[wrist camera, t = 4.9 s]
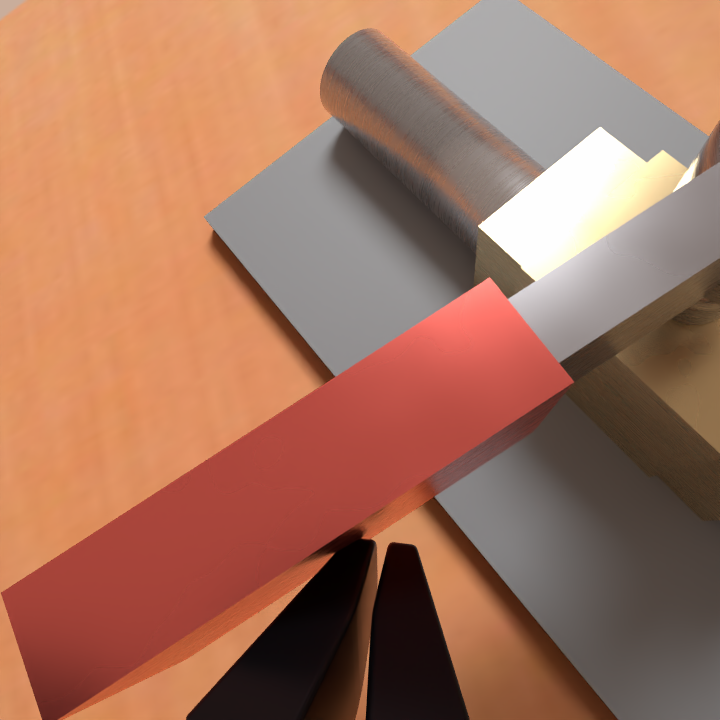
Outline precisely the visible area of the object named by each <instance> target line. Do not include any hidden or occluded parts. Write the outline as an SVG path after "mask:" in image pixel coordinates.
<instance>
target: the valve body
mask: <svg viewBox="0 0 720 720" xmlns="http://www.w3.org/2000/svg"><path fill="white" fill-rule="evenodd" d="M320 97H321V102H322V104H323V106H324V108H325V109H326V110H327V112H329V113H330V114H331V115H332V116H333V117H334V118H335V119H336V120H337V121H338V122H339V123H340V124H341V125H342V126H343V127H344V128H345V129H346V130H347V131H348V132H349V133H350V134H351V135H353V136H354V137H355V138H356V139H357V140H358V141H359V142H360V143H361V144H362V145H363V146H364V147H365V148H366V149H367V150H368V151H369V152H370V153H371V154H372V155H373V156H374V157H375V158H377V159H378V160H379V161H380V162H381V163H382V164H383V165H384V166H385V167H386V168H387V169H388V170H389V171H390V172H391V173H392V174H393V175H394V176H395V177H396V178H397V179H398V180H399V181H401V182H402V183H403V184H404V185H405V186H406V187H407V188H408V189H409V190H410V191H411V192H412V193H413V194H414V195H415V196H416V197H417V198H418V199H419V200H420V201H421V202H422V203H423V204H425V205H426V206H427V207H428V208H429V209H430V210H431V211H432V212H433V213H434V214H435V215H436V216H437V217H438V218H439V219H440V220H441V221H442V222H443V223H444V224H445V225H446V226H447V227H449V228H450V229H451V230H452V231H453V232H454V233H455V234H456V235H457V236H458V237H459V238H460V239H461V240H462V241H463V242H464V243H465V244H466V245H467V246H468V247H469V248H470V249H471V250H473V251H474V252H475V253H476V262H475V274H474V287H475V286H477V285H479V284H480V283H482V282H483V281H485V280H486V279H488V278H489V277H490V278H491V279H492V281H493V282H494V283H495V284H496V286H497V287H498V288H499V289H500V291H501V292H502V293H503V294H504V295H505V297H506V298H507V299H509V298H510V297H512V296H513V295H515V294H516V293H518V292H520V291H521V290H523V289H524V288H526V287H527V286H529V285H530V284H532V283H533V282H535V281H537V280H538V279H540V278H541V277H543V276H544V275H546V274H547V273H549V272H550V271H552V270H553V269H555V268H557V267H558V266H560V265H561V264H563V263H564V262H566V261H567V260H569V259H570V258H572V257H574V256H575V255H577V254H578V253H580V252H581V251H583V250H584V249H586V248H587V247H589V246H591V245H592V244H594V243H595V242H597V241H598V240H600V239H601V238H603V237H604V236H606V235H608V234H609V233H611V232H612V231H614V230H615V229H617V228H618V227H620V226H621V225H623V224H625V223H626V222H628V221H629V220H631V219H632V218H634V217H635V216H637V215H638V214H640V213H642V212H643V211H645V210H646V209H648V208H649V207H651V206H652V205H654V204H655V203H657V202H659V201H660V200H662V199H663V198H665V197H666V196H668V195H669V194H671V193H672V192H673V191H674V190H675V188H676V187H677V185H678V184H679V182H680V180H681V179H682V177H683V176H684V174H685V173H686V171H687V170H688V168H686V167H685V166H684V165H682V164H681V163H680V162H678V161H677V160H676V159H674V158H673V157H672V156H670V155H669V154H667V153H666V152H665V151H663V150H662V151H661V152H660V153H658V154H657V155H656V156H655V157H654V158H652V159H651V160H650V161H649V162H647V163H646V162H645V161H644V160H642V159H641V158H640V157H638V156H637V155H636V154H634V153H633V152H632V151H631V150H629V149H628V148H627V147H625V146H624V145H623V144H621V143H620V142H619V141H618V140H616V139H615V138H614V137H612V136H611V135H610V134H608V133H607V132H606V131H604V130H603V129H602V128H601V127H600V128H598V129H597V130H596V131H595V132H593V133H592V134H591V135H590V136H589V137H587V138H586V139H585V140H584V141H582V142H581V143H580V144H579V145H578V146H576V147H575V148H574V149H573V150H571V151H570V152H569V153H568V154H566V155H565V156H564V157H563V158H562V159H560V160H559V161H558V162H557V163H555V164H554V165H553V166H552V167H550V168H549V169H548V170H546V169H545V168H544V167H543V166H541V165H540V164H539V163H538V162H537V161H535V160H534V159H533V158H532V157H531V156H529V155H528V154H527V153H526V152H525V151H523V150H522V149H521V148H520V147H519V146H517V145H516V144H515V143H514V142H513V141H511V140H510V139H509V138H508V137H507V136H505V135H504V134H503V133H502V132H501V131H499V130H498V129H497V128H496V127H495V126H493V125H492V124H491V123H490V122H489V121H487V120H486V119H485V118H484V117H483V116H481V115H480V114H479V113H478V112H477V111H475V110H474V109H473V108H472V107H471V106H470V105H468V104H467V103H466V102H465V101H464V100H462V99H461V98H460V97H459V96H458V95H456V94H455V93H454V92H453V91H452V90H450V89H449V88H448V87H447V86H446V85H444V84H443V83H442V82H441V81H440V80H438V79H437V78H436V77H435V76H434V75H432V74H431V73H430V72H429V71H428V70H426V69H425V68H424V67H423V66H422V65H420V64H419V63H418V62H417V61H416V60H414V59H413V58H412V57H411V56H410V55H408V54H407V53H406V52H405V51H404V50H402V49H401V48H400V47H399V46H398V45H396V44H395V43H394V42H393V41H392V40H390V39H389V38H388V37H387V36H386V35H384V34H383V33H382V32H381V31H379V30H376V29H364V30H360V31H358V32H356V33H354V34H352V35H351V36H349V37H348V38H347V39H346V40H344V41H343V42H342V43H341V44H340V45H339V46H338V48H337V49H336V50H335V51H334V53H333V54H332V56H331V57H330V59H329V61H328V63H327V65H326V67H325V69H324V72H323V75H322V79H321V85H320ZM474 287H473V288H474ZM565 394H566V395H567V396H568V397H569V398H570V399H571V400H572V401H573V402H574V403H575V404H576V405H577V406H578V407H579V408H580V409H581V410H582V411H583V412H584V413H585V414H586V415H587V416H588V417H589V418H590V419H591V420H592V421H593V422H594V423H595V424H596V425H597V426H598V427H599V428H600V429H601V430H602V431H603V432H604V433H605V434H606V435H607V436H608V437H609V438H610V439H611V440H612V441H613V442H614V443H615V444H616V445H617V446H618V447H619V448H620V449H621V450H622V451H623V452H624V453H625V454H626V455H627V456H628V457H629V458H630V459H631V460H632V461H633V462H634V463H635V464H636V465H637V466H638V467H639V468H640V469H641V470H642V471H643V472H644V473H645V474H646V475H647V476H648V477H653V476H656V475H657V476H658V477H659V478H660V479H661V480H662V481H663V482H664V483H665V484H666V485H667V486H668V487H669V488H670V489H671V490H672V491H673V492H674V493H675V494H676V495H677V496H678V497H679V498H680V499H681V500H682V501H683V502H684V503H685V504H686V505H687V506H688V507H689V508H690V509H691V510H692V511H693V512H694V513H695V514H696V515H697V516H698V517H699V518H700V519H701V520H702V521H710V520H720V305H719V304H716V303H714V302H711V301H709V300H707V299H705V298H702V299H701V300H699V301H698V302H696V303H695V304H693V305H692V306H690V307H689V308H687V309H686V310H684V311H683V312H681V313H680V314H678V315H677V316H675V317H673V318H672V319H670V320H669V321H667V322H666V323H664V324H663V325H661V326H660V327H658V328H657V329H655V330H654V331H652V332H651V333H649V334H647V335H646V336H644V337H643V338H641V339H640V340H638V341H637V342H635V343H634V344H632V345H631V346H629V347H628V348H626V349H625V350H623V351H621V352H620V353H618V354H617V355H615V356H614V357H612V358H611V359H609V360H608V361H606V362H605V363H603V364H602V365H600V366H599V367H597V368H595V369H594V370H592V371H591V372H589V373H588V374H586V375H585V376H583V377H582V378H580V379H579V380H577V381H576V382H574V383H573V384H572V385H571V387H570V388H569V389H568V390H567V392H566V393H565Z"/></svg>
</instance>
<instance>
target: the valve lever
mask: <svg viewBox="0 0 720 720" xmlns="http://www.w3.org/2000/svg"><path fill="white" fill-rule="evenodd" d="M702 298H705V299H707V300H709V301H711V302H714V303H716V304H719V305H720V121H719V122H718V124H717V125H716V127H715V128H714V130H713V131H712V133H711V134H710V136H709V137H708V139H707V141H706V142H705V144H704V145H703V147H702V148H701V150H700V151H699V153H698V154H697V156H696V157H695V159H694V160H693V162H692V164H691V165H690V167H689V168H688V170H687V171H686V173H685V174H684V176H683V177H682V179H681V180H680V182H679V184H678V185H677V187H676V188H675V190H674V191H673V192H672V193H671V194H669V195H668V196H666V197H665V198H663V199H662V200H660V201H659V202H657V203H655V204H654V205H652V206H651V207H649V208H648V209H646V210H645V211H643V212H642V213H640V214H638V215H637V216H635V217H634V218H632V219H631V220H629V221H628V222H626V223H625V224H623V225H621V226H620V227H618V228H617V229H615V230H614V231H612V232H611V233H609V234H608V235H606V236H604V237H603V238H601V239H600V240H598V241H597V242H595V243H594V244H592V245H591V246H589V247H587V248H586V249H584V250H583V251H581V252H580V253H578V254H577V255H575V256H574V257H572V258H570V259H569V260H567V261H566V262H564V263H563V264H561V265H560V266H558V267H557V268H555V269H553V270H552V271H550V272H549V273H547V274H546V275H544V276H543V277H541V278H540V279H538V280H537V281H535V282H533V283H532V284H530V285H529V286H527V287H526V288H524V289H523V290H521V291H520V292H518V293H516V294H515V295H513V296H512V297H510V298H509V299H507V298H506V297H505V295H504V294H503V293H502V292H501V291H500V289H499V288H498V287H497V286H496V284H495V283H494V282H493V281H492V279H491V278H490V277H489V278H488V279H486V280H485V281H483V282H482V283H480V284H479V285H477V286H475V287H474V288H472V289H471V290H469V291H468V292H466V293H465V294H463V295H462V296H460V297H458V298H457V299H455V300H454V301H452V302H451V303H449V304H448V305H446V306H444V307H443V308H441V309H440V310H438V311H437V312H435V313H434V314H432V315H431V316H429V317H427V318H426V319H424V320H423V321H421V322H420V323H418V324H417V325H415V326H414V327H412V328H410V329H409V330H407V331H406V332H404V333H403V334H401V335H400V336H398V337H396V338H395V339H393V340H392V341H390V342H389V343H387V344H386V345H384V346H383V347H381V348H379V349H378V350H376V351H375V352H373V353H372V354H370V355H369V356H367V357H366V358H364V359H362V360H361V361H359V362H358V363H356V364H355V365H353V366H352V367H350V368H348V369H347V370H345V371H344V372H342V373H341V374H339V375H338V376H336V377H335V378H333V379H331V380H330V381H328V382H327V383H325V384H324V385H322V386H321V387H319V388H318V389H316V390H314V391H313V392H311V393H310V394H308V395H307V396H305V397H304V398H302V399H300V400H299V401H297V402H296V403H294V404H293V405H291V406H290V407H288V408H287V409H285V410H283V411H282V412H280V413H279V414H277V415H276V416H274V417H273V418H271V419H269V420H268V421H266V422H265V423H263V424H262V425H260V426H259V427H257V428H256V429H254V430H252V431H251V432H249V433H248V434H246V435H245V436H243V437H242V438H240V439H239V440H237V441H235V442H234V443H232V444H231V445H229V446H228V447H226V448H225V449H223V450H221V451H220V452H218V453H217V454H215V455H214V456H212V457H211V458H209V459H208V460H206V461H204V462H203V463H201V464H200V465H198V466H197V467H195V468H194V469H192V470H191V471H189V472H187V473H186V474H184V475H183V476H181V477H180V478H178V479H177V480H175V481H173V482H172V483H170V484H169V485H167V486H166V487H164V488H163V489H161V490H160V491H158V492H156V493H155V494H153V495H152V496H150V497H149V498H147V499H146V500H144V501H143V502H141V503H139V504H138V505H136V506H135V507H133V508H132V509H130V510H129V511H127V512H125V513H124V514H122V515H121V516H119V517H118V518H116V519H115V520H113V521H112V522H110V523H108V524H107V525H105V526H104V527H102V528H101V529H99V530H98V531H96V532H95V533H93V534H91V535H90V536H88V537H87V538H85V539H84V540H82V541H81V542H79V543H77V544H76V545H74V546H73V547H71V548H70V549H68V550H67V551H65V552H64V553H62V554H60V555H59V556H57V557H56V558H54V559H53V560H51V561H50V562H48V563H46V564H45V565H43V566H42V567H40V568H39V569H37V570H36V571H34V572H33V573H31V574H29V575H28V576H26V577H25V578H23V579H22V580H20V581H19V582H17V583H16V584H14V585H12V586H11V587H9V588H8V589H6V590H5V591H3V592H2V593H1V594H2V597H3V600H4V604H5V607H6V610H7V613H8V616H9V619H10V622H11V625H12V628H13V631H14V634H15V637H16V640H17V643H18V646H19V650H20V653H21V656H22V659H23V662H24V665H25V668H26V671H27V674H28V677H29V680H30V683H31V686H32V689H33V692H34V696H35V699H36V702H37V705H38V708H39V711H40V714H41V717H42V720H63V719H65V718H67V717H69V716H71V715H73V714H75V713H77V712H79V711H81V710H83V709H85V708H87V707H89V706H91V705H94V704H96V703H98V702H100V701H102V700H104V699H106V698H108V697H110V696H112V695H114V694H116V693H118V692H120V691H122V690H124V689H126V688H128V687H130V686H133V685H135V684H137V683H139V682H141V681H143V680H145V679H147V678H149V677H151V676H153V675H155V674H157V673H159V672H161V671H163V670H165V669H167V668H169V667H171V666H174V665H176V664H178V663H180V662H182V661H184V660H186V659H188V658H189V657H191V656H192V655H194V654H195V653H197V652H198V651H200V650H201V649H203V648H204V647H206V646H207V645H209V644H211V643H212V642H214V641H215V640H217V639H218V638H220V637H221V636H223V635H224V634H226V633H227V632H229V631H230V630H232V629H233V628H235V627H236V626H238V625H239V624H241V623H243V622H244V621H246V620H247V619H249V618H250V617H252V616H253V615H255V614H256V613H258V612H259V611H261V610H262V609H264V608H265V607H267V606H268V605H270V604H272V603H273V602H275V601H276V600H278V599H279V598H281V597H282V596H284V595H285V594H287V593H288V592H290V591H291V590H293V589H294V588H296V587H297V586H299V585H301V584H302V583H304V582H305V581H307V580H308V579H310V578H311V577H313V576H314V575H316V573H317V572H318V571H319V570H320V569H321V568H322V567H323V566H324V565H325V564H326V562H327V561H328V560H329V559H330V558H331V557H332V556H333V555H334V554H335V553H336V552H337V551H339V550H340V549H342V548H344V547H346V546H347V545H349V544H351V543H353V542H354V541H356V540H358V539H360V538H363V539H371V538H372V537H374V536H375V535H377V534H378V533H380V532H381V531H383V530H384V529H386V528H388V527H389V526H391V525H392V524H394V523H395V522H397V521H398V520H400V519H401V518H403V517H404V516H406V515H407V514H409V513H410V512H412V511H413V510H415V509H417V508H418V507H420V506H421V505H423V504H424V503H426V502H427V501H429V500H430V499H432V498H433V497H435V496H436V495H438V494H439V493H441V492H442V491H444V490H446V489H447V488H449V487H450V486H452V485H453V484H455V483H456V482H458V481H459V480H461V479H462V478H464V477H465V476H467V475H468V474H470V473H471V472H473V471H475V470H476V469H478V468H479V467H481V466H482V465H484V464H485V463H487V462H488V461H490V460H491V459H493V458H494V457H496V456H497V455H499V454H500V453H502V452H504V451H505V450H507V449H508V448H510V447H511V446H513V445H514V444H516V443H517V442H519V441H520V440H522V439H523V438H525V437H526V436H528V435H529V434H531V433H533V432H534V430H535V429H536V428H537V427H538V426H539V424H540V423H541V422H542V421H543V420H544V418H545V417H546V416H547V415H548V413H549V412H550V411H551V410H552V409H553V407H554V406H555V405H556V404H557V402H558V401H559V400H560V399H561V398H562V396H563V395H564V394H565V393H566V392H567V390H568V389H569V388H570V387H571V385H572V384H573V383H574V382H576V381H577V380H579V379H580V378H582V377H583V376H585V375H586V374H588V373H589V372H591V371H592V370H594V369H595V368H597V367H599V366H600V365H602V364H603V363H605V362H606V361H608V360H609V359H611V358H612V357H614V356H615V355H617V354H618V353H620V352H621V351H623V350H625V349H626V348H628V347H629V346H631V345H632V344H634V343H635V342H637V341H638V340H640V339H641V338H643V337H644V336H646V335H647V334H649V333H651V332H652V331H654V330H655V329H657V328H658V327H660V326H661V325H663V324H664V323H666V322H667V321H669V320H670V319H672V318H673V317H675V316H677V315H678V314H680V313H681V312H683V311H684V310H686V309H687V308H689V307H690V306H692V305H693V304H695V303H696V302H698V301H699V300H701V299H702Z"/></svg>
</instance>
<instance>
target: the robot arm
mask: <svg viewBox="0 0 720 720" xmlns="http://www.w3.org/2000/svg"><path fill="white" fill-rule="evenodd" d="M370 634H371V635H370ZM369 640H370V653H369V671H368V688H367V706H366V720H470V719H469V716H468V713H467V710H466V706H465V703H464V700H463V697H462V693H461V690H460V687H459V684H458V680H457V677H456V674H455V670H454V667H453V664H452V661H451V657H450V654H449V651H448V648H447V644H446V641H445V638H444V635H443V631H442V628H441V625H440V622H439V618H438V615H437V612H436V609H435V605H434V602H433V599H432V595H431V592H430V589H429V586H428V582H427V579H426V576H425V573H424V569H423V566H422V563H421V560H420V556H419V553H418V550H417V548H416V546H414V545H412V544H404V543H396V542H392V543H390V544H389V545H388V548H387V552H386V556H385V560H384V564H383V568H382V573H381V577H380V581H379V585H378V589H377V545H376V542H375V541H373V540H371V539H363V538H360V539H358V540H356V541H354V542H353V543H351V544H349V545H347V546H346V547H344V548H342V549H340V550H339V551H337V552H336V553H335V554H334V555H333V556H332V557H331V558H330V559H329V560H328V561H327V562H326V564H325V565H324V566H323V567H322V568H321V569H320V570H319V571H318V572H317V573H316V575H315V576H314V577H313V578H312V579H311V580H310V581H309V582H308V583H307V584H306V586H305V587H304V588H303V589H302V590H301V591H300V592H299V593H298V594H297V595H296V597H295V598H294V599H293V600H292V601H291V602H290V603H289V604H288V605H287V606H286V607H285V609H284V610H283V611H282V612H281V613H280V614H279V615H278V616H277V617H276V618H275V620H274V621H273V622H272V623H271V624H270V625H269V626H268V627H267V628H266V629H265V631H264V632H263V633H262V634H261V635H260V636H259V637H258V638H257V639H256V640H255V642H254V643H253V644H252V645H251V646H250V647H249V648H248V649H247V650H246V651H245V653H244V654H243V655H242V656H241V657H240V658H239V659H238V660H237V661H236V662H235V664H234V665H233V666H232V667H231V668H230V669H229V670H228V671H227V672H226V673H225V675H224V676H223V677H222V678H221V679H220V680H219V681H218V682H217V683H216V684H215V686H214V687H213V688H212V689H211V690H210V691H209V692H208V693H207V694H206V695H205V696H204V698H203V699H202V700H201V701H200V702H199V703H198V704H197V705H196V706H195V707H194V709H193V710H192V711H191V712H190V713H189V714H188V715H187V717H186V720H355V718H356V714H357V710H358V705H359V701H360V697H361V692H362V686H363V680H364V674H365V667H366V661H367V654H368V647H369Z"/></svg>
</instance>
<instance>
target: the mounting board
mask: <svg viewBox="0 0 720 720" xmlns="http://www.w3.org/2000/svg"><path fill="white" fill-rule="evenodd" d="M411 57H412V58H413V59H414V60H416V61H417V62H418V63H419V64H420V65H422V66H423V67H424V68H425V69H426V70H428V71H429V72H430V73H431V74H432V75H434V76H435V77H436V78H437V79H438V80H440V81H441V82H442V83H443V84H444V85H446V86H447V87H448V88H449V89H450V90H452V91H453V92H454V93H455V94H456V95H458V96H459V97H460V98H461V99H462V100H464V101H465V102H466V103H467V104H468V105H470V106H471V107H472V108H473V109H474V110H475V111H477V112H478V113H479V114H480V115H481V116H483V117H484V118H485V119H486V120H487V121H489V122H490V123H491V124H492V125H493V126H495V127H496V128H497V129H498V130H499V131H501V132H502V133H503V134H504V135H505V136H507V137H508V138H509V139H510V140H511V141H513V142H514V143H515V144H516V145H517V146H519V147H520V148H521V149H522V150H523V151H525V152H526V153H527V154H528V155H529V156H531V157H532V158H533V159H534V160H535V161H537V162H538V163H539V164H540V165H541V166H543V167H544V168H545V169H546V170H548V169H549V168H550V167H552V166H553V165H554V164H555V163H557V162H558V161H559V160H560V159H562V158H563V157H564V156H565V155H566V154H568V153H569V152H570V151H571V150H573V149H574V148H575V147H576V146H578V145H579V144H580V143H581V142H582V141H584V140H585V139H586V138H587V137H589V136H590V135H591V134H592V133H593V132H595V131H596V130H597V129H598V128H600V127H601V128H602V129H603V130H604V131H606V132H607V133H608V134H610V135H611V136H612V137H614V138H615V139H616V140H618V141H619V142H620V143H621V144H623V145H624V146H625V147H627V148H628V149H629V150H631V151H632V152H633V153H634V154H636V155H637V156H638V157H640V158H641V159H642V160H644V161H645V162H646V163H647V162H649V161H650V160H651V159H652V158H654V157H655V156H656V155H657V154H658V153H660V152H661V151H662V150H663V151H665V152H666V153H667V154H669V155H670V156H672V157H673V158H674V159H676V160H677V161H678V162H680V163H681V164H682V165H684V166H685V167H686V168H689V167H690V165H691V164H692V162H693V160H694V159H695V157H696V156H697V154H698V153H699V151H700V150H701V148H702V147H703V145H704V144H705V142H706V141H707V139H708V137H709V136H707V135H706V134H705V133H703V132H702V131H700V130H699V129H698V128H696V127H695V126H693V125H692V124H691V123H689V122H688V121H686V120H685V119H684V118H682V117H681V116H679V115H678V114H677V113H675V112H674V111H672V110H671V109H670V108H668V107H667V106H665V105H664V104H663V103H661V102H660V101H658V100H657V99H656V98H654V97H653V96H651V95H650V94H649V93H647V92H646V91H644V90H643V89H642V88H640V87H639V86H637V85H636V84H635V83H633V82H632V81H630V80H629V79H628V78H626V77H625V76H623V75H622V74H620V73H619V72H618V71H616V70H615V69H613V68H612V67H611V66H609V65H608V64H606V63H605V62H604V61H602V60H601V59H599V58H598V57H597V56H595V55H594V54H592V53H591V52H590V51H588V50H587V49H585V48H584V47H583V46H581V45H580V44H578V43H577V42H576V41H574V40H573V39H571V38H570V37H569V36H567V35H566V34H564V33H563V32H562V31H560V30H559V29H557V28H556V27H555V26H553V25H552V24H550V23H549V22H548V21H546V20H545V19H543V18H542V17H541V16H539V15H538V14H536V13H535V12H534V11H532V10H531V9H529V8H528V7H527V6H525V5H524V4H522V3H521V2H520V1H518V0H481V1H480V2H479V3H477V4H476V5H475V6H473V7H472V8H471V9H470V10H468V11H467V12H466V13H464V14H463V15H462V16H461V17H459V18H458V19H457V20H455V21H454V22H453V23H452V24H450V25H449V26H448V27H446V28H445V29H444V30H443V31H441V32H440V33H439V34H438V35H436V36H435V37H434V38H432V39H431V40H430V41H429V42H427V43H426V44H425V45H423V46H422V47H421V48H420V49H418V50H417V51H416V52H414V53H413V54H412V55H411ZM204 218H205V219H206V220H207V222H208V223H209V224H210V225H211V227H212V228H213V229H214V230H215V232H216V233H217V234H218V235H219V236H220V238H221V239H222V240H223V241H224V243H225V244H226V245H227V246H228V247H229V249H230V250H231V251H232V252H233V253H234V255H235V256H236V257H237V258H238V260H239V261H240V262H241V263H242V264H243V266H244V267H245V268H246V269H247V270H248V272H249V273H250V274H251V275H252V276H253V278H254V279H255V280H256V281H257V283H258V284H259V285H260V286H261V287H262V289H263V290H264V291H265V292H266V293H267V295H268V296H269V297H270V298H271V300H272V301H273V302H274V303H275V304H276V306H277V307H278V308H279V309H280V310H281V312H282V313H283V314H284V315H285V316H286V318H287V319H288V320H289V321H290V323H291V324H292V325H293V326H294V327H295V329H296V330H297V331H298V332H299V333H300V335H301V336H302V337H303V338H304V340H305V341H306V342H307V343H308V344H309V346H310V347H311V348H312V349H313V350H314V352H315V353H316V354H317V355H318V356H319V358H320V359H321V360H322V361H323V363H324V364H325V365H326V366H327V367H328V369H329V370H330V371H331V372H332V373H333V375H334V376H335V377H336V376H338V375H339V374H341V373H342V372H344V371H345V370H347V369H348V368H350V367H352V366H353V365H355V364H356V363H358V362H359V361H361V360H362V359H364V358H366V357H367V356H369V355H370V354H372V353H373V352H375V351H376V350H378V349H379V348H381V347H383V346H384V345H386V344H387V343H389V342H390V341H392V340H393V339H395V338H396V337H398V336H400V335H401V334H403V333H404V332H406V331H407V330H409V329H410V328H412V327H414V326H415V325H417V324H418V323H420V322H421V321H423V320H424V319H426V318H427V317H429V316H431V315H432V314H434V313H435V312H437V311H438V310H440V309H441V308H443V307H444V306H446V305H448V304H449V303H451V302H452V301H454V300H455V299H457V298H458V297H460V296H462V295H463V294H465V293H466V292H468V291H469V290H471V289H472V288H473V287H474V274H475V262H476V253H475V252H474V251H473V250H471V249H470V248H469V247H468V246H467V245H466V244H465V243H464V242H463V241H462V240H461V239H460V238H459V237H458V236H457V235H456V234H455V233H454V232H453V231H452V230H451V229H450V228H449V227H447V226H446V225H445V224H444V223H443V222H442V221H441V220H440V219H439V218H438V217H437V216H436V215H435V214H434V213H433V212H432V211H431V210H430V209H429V208H428V207H427V206H426V205H425V204H423V203H422V202H421V201H420V200H419V199H418V198H417V197H416V196H415V195H414V194H413V193H412V192H411V191H410V190H409V189H408V188H407V187H406V186H405V185H404V184H403V183H402V182H401V181H399V180H398V179H397V178H396V177H395V176H394V175H393V174H392V173H391V172H390V171H389V170H388V169H387V168H386V167H385V166H384V165H383V164H382V163H381V162H380V161H379V160H378V159H377V158H375V157H374V156H373V155H372V154H371V153H370V152H369V151H368V150H367V149H366V148H365V147H364V146H363V145H362V144H361V143H360V142H359V141H358V140H357V139H356V138H355V137H354V136H353V135H351V134H350V133H349V132H348V131H347V130H346V129H345V128H344V127H343V126H342V125H341V124H340V123H339V122H338V121H337V120H336V119H335V118H334V117H333V116H332V117H331V118H330V119H329V120H327V121H326V122H325V123H323V124H322V125H321V126H320V127H318V128H317V129H316V130H314V131H313V132H312V133H311V134H309V135H308V136H307V137H305V138H304V139H303V140H302V141H300V142H299V143H298V144H297V145H295V146H294V147H293V148H291V149H290V150H289V151H288V152H286V153H285V154H284V155H282V156H281V157H280V158H279V159H277V160H276V161H275V162H273V163H272V164H271V165H270V166H268V167H267V168H266V169H264V170H263V171H262V172H261V173H259V174H258V175H257V176H255V177H254V178H253V179H252V180H250V181H249V182H248V183H247V184H245V185H244V186H243V187H241V188H240V189H239V190H238V191H236V192H235V193H234V194H232V195H231V196H230V197H229V198H227V199H226V200H225V201H223V202H222V203H221V204H220V205H218V206H217V207H216V208H214V209H213V210H212V211H211V212H209V213H208V214H207V215H206V216H204ZM435 498H436V500H437V501H438V502H439V503H440V504H441V506H442V507H443V508H444V509H445V510H446V512H447V513H448V514H449V515H450V517H451V518H452V519H453V520H454V521H455V523H456V524H457V525H458V526H459V527H460V529H461V530H462V531H463V532H464V534H465V535H466V536H467V537H468V538H469V540H470V541H471V542H472V543H473V544H474V546H475V547H476V548H477V549H478V550H479V552H480V553H481V554H482V555H483V557H484V558H485V559H486V560H487V561H488V563H489V564H490V565H491V566H492V567H493V569H494V570H495V571H496V572H497V574H498V575H499V576H500V577H501V578H502V580H503V581H504V582H505V583H506V584H507V586H508V587H509V588H510V589H511V591H512V592H513V593H514V594H515V595H516V597H517V598H518V599H519V600H520V601H521V603H522V604H523V605H524V606H525V607H526V609H527V610H528V611H529V612H530V614H531V615H532V616H533V617H534V618H535V620H536V621H537V622H538V623H539V624H540V626H541V627H542V628H543V629H544V631H545V632H546V633H547V634H548V635H549V637H550V638H551V639H552V640H553V641H554V643H555V644H556V645H557V646H558V647H559V649H560V650H561V651H562V652H563V654H564V655H565V656H566V657H567V658H568V660H569V661H570V662H571V663H572V664H573V666H574V667H575V668H576V669H577V671H578V672H579V673H580V674H581V675H582V677H583V678H584V679H585V680H586V681H587V683H588V684H589V685H590V686H591V687H592V689H593V690H594V691H595V692H596V694H597V695H598V696H599V697H600V698H601V700H602V701H603V702H604V703H605V704H606V706H607V707H608V708H609V709H610V711H611V712H612V713H613V714H614V715H615V717H616V718H617V719H618V720H720V520H710V521H702V520H701V519H700V518H699V517H698V516H697V515H696V514H695V513H694V512H693V511H692V510H691V509H690V508H689V507H688V506H687V505H686V504H685V503H684V502H683V501H682V500H681V499H680V498H679V497H678V496H677V495H676V494H675V493H674V492H673V491H672V490H671V489H670V488H669V487H668V486H667V485H666V484H665V483H664V482H663V481H662V480H661V479H660V478H659V477H658V476H657V475H656V476H653V477H648V476H647V475H646V474H645V473H644V472H643V471H642V470H641V469H640V468H639V467H638V466H637V465H636V464H635V463H634V462H633V461H632V460H631V459H630V458H629V457H628V456H627V455H626V454H625V453H624V452H623V451H622V450H621V449H620V448H619V447H618V446H617V445H616V444H615V443H614V442H613V441H612V440H611V439H610V438H609V437H608V436H607V435H606V434H605V433H604V432H603V431H602V430H601V429H600V428H599V427H598V426H597V425H596V424H595V423H594V422H593V421H592V420H591V419H590V418H589V417H588V416H587V415H586V414H585V413H584V412H583V411H582V410H581V409H580V408H579V407H578V406H577V405H576V404H575V403H574V402H573V401H572V400H571V399H570V398H569V397H568V396H567V395H566V394H564V395H563V396H562V398H561V399H560V400H559V401H558V402H557V404H556V405H555V406H554V407H553V409H552V410H551V411H550V412H549V413H548V415H547V416H546V417H545V418H544V420H543V421H542V422H541V423H540V424H539V426H538V427H537V428H536V429H535V430H534V432H533V433H531V434H529V435H528V436H526V437H525V438H523V439H522V440H520V441H519V442H517V443H516V444H514V445H513V446H511V447H510V448H508V449H507V450H505V451H504V452H502V453H500V454H499V455H497V456H496V457H494V458H493V459H491V460H490V461H488V462H487V463H485V464H484V465H482V466H481V467H479V468H478V469H476V470H475V471H473V472H471V473H470V474H468V475H467V476H465V477H464V478H462V479H461V480H459V481H458V482H456V483H455V484H453V485H452V486H450V487H449V488H447V489H446V490H444V491H442V492H441V493H439V494H438V495H436V496H435Z"/></svg>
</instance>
